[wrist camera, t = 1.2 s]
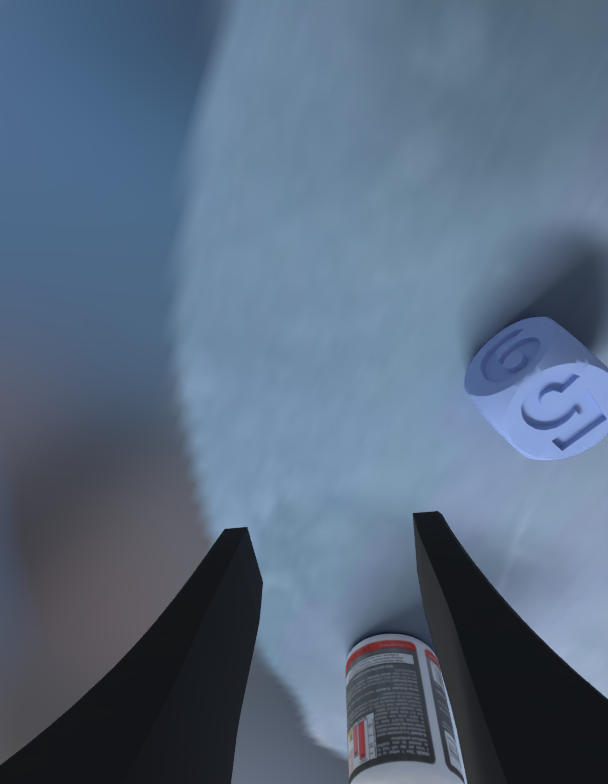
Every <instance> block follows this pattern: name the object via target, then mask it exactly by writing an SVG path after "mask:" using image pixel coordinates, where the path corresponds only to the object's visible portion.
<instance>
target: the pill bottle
mask: <svg viewBox="0 0 608 784" xmlns="http://www.w3.org/2000/svg"><path fill="white" fill-rule="evenodd" d="M346 703H347V737H348V774H349V784H465V783H464V778H463V773H462V769H461V764H460V760H459V755H458V750H457V746H456V741H455V736H454V731H453V727H452V722H451V717H450V713H449V708H448V704H447V699H446V694H445V690H444V685H443V680H442V676H441V671H440V666H439V663H438V659H437V657H436V655H435V654H434V652H433V651H432V650H431V648H430V647H429V646H427V645H426V644H425V643H423V642H422V641H420V640H418V639H416V638H414V637H411V636H407V635H402V634H381V635H376V636H372V637H369V638H367V639H365V640H363V641H361V642H360V643H358V644H357V645H356V646H355V647H354V648H353V649H352V650H351V652H350V653H349V655H348V657H347V661H346Z"/></svg>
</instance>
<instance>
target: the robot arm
mask: <svg viewBox="0 0 608 784" xmlns="http://www.w3.org/2000/svg"><path fill="white" fill-rule="evenodd" d="M413 521H414V534H415V547H416V560H417V572H418V578H419V583H420V589H421V595H422V600H423V606H424V611H425V615H426V619H427V622H428V626H429V630H430V633H431V637H432V640H433V644H434V647H435V651H436V654H437V658H438V662H439V665H440V669H441V672H442V676H443V679H444V683H445V686H446V690H447V693H448V697H449V701H450V704H451V708H452V712H453V716H454V720H455V724H456V728H457V733H458V738H459V743H460V748H461V753H462V758H463V763H464V768H465V773H466V778H467V784H608V699H607V698H606V697H605V696H603V695H602V694H601V693H600V692H599V691H598V690H596V689H595V688H594V687H593V686H592V685H591V684H589V683H588V682H587V681H586V680H585V679H584V678H582V677H581V676H580V675H579V674H578V673H577V672H576V671H574V670H573V669H572V668H571V667H570V666H569V665H568V664H567V663H566V662H565V661H564V660H563V659H562V658H561V657H559V656H558V655H557V654H556V653H555V652H554V651H553V650H552V649H551V648H550V647H549V646H548V645H547V644H546V643H545V642H544V641H543V640H542V639H541V638H540V637H539V636H538V635H537V634H536V633H535V632H534V631H533V630H532V629H531V628H530V627H529V626H528V625H527V624H526V623H525V622H524V621H523V620H522V619H521V617H520V616H519V615H518V614H517V613H516V612H515V611H514V610H513V609H512V608H511V606H510V605H509V604H508V603H507V602H506V601H505V600H504V599H503V597H502V596H501V595H500V594H499V593H498V592H497V590H496V589H495V588H494V587H493V586H492V584H491V583H490V582H489V581H488V580H487V578H486V577H485V576H484V574H483V573H482V572H481V571H480V569H479V568H478V567H477V566H476V564H475V563H474V562H473V560H472V559H471V558H470V556H469V555H468V554H467V552H466V551H465V550H464V548H463V547H462V545H461V544H460V542H459V541H458V540H457V538H456V537H455V535H454V534H453V532H452V531H451V529H450V527H449V526H448V524H447V522H446V521H445V519H444V517H443V515H442V514H441V513H439V512H438V511H434V512H422V513H413ZM262 587H263V581H262V577H261V574H260V570H259V567H258V563H257V560H256V556H255V553H254V549H253V546H252V542H251V539H250V535H249V532H248V528H247V527H243V528H231V529H225V530H224V531H223V532H222V533H221V535H220V536H219V538H218V539H217V540H216V542H215V543H214V545H213V546H212V548H211V549H210V550H209V552H208V553H207V555H206V556H205V558H204V559H203V560H202V562H201V563H200V565H199V566H198V567H197V569H196V570H195V571H194V573H193V574H192V576H191V577H190V578H189V580H188V581H187V582H186V584H185V585H184V586H183V588H182V589H181V590H180V591H179V593H178V594H177V596H176V597H175V598H174V599H173V601H172V602H171V603H170V604H169V605H168V607H167V608H166V609H165V610H164V612H163V613H162V614H161V615H160V616H159V618H158V619H157V620H156V622H155V623H154V624H153V625H152V626H151V627H150V629H149V630H148V631H147V632H146V633H145V634H144V635H143V637H142V638H141V639H140V640H139V641H138V642H137V643H136V644H135V646H134V647H133V648H132V649H131V650H130V651H129V652H128V653H127V654H126V655H125V656H124V657H123V658H122V659H121V660H120V661H119V662H118V663H117V664H116V665H115V667H114V668H113V669H112V670H110V672H108V673H107V674H106V675H105V676H104V677H103V678H102V679H101V680H100V681H99V682H98V683H97V684H96V685H95V686H94V687H93V688H91V690H89V691H88V692H87V693H86V694H85V695H84V696H83V697H82V698H81V699H80V700H79V701H78V702H77V703H75V704H74V705H73V706H72V707H71V708H70V709H69V710H68V711H67V712H65V713H64V714H63V715H62V716H61V717H59V718H58V719H57V720H56V721H55V722H54V723H52V724H51V725H50V726H49V727H48V728H46V729H45V730H44V731H43V732H42V733H40V734H39V735H38V736H37V737H36V738H34V739H33V740H32V741H31V742H30V743H28V744H27V745H26V746H25V747H23V748H22V749H21V750H19V751H18V752H17V753H16V754H14V755H13V756H12V757H10V758H9V759H8V760H7V761H5V762H4V763H3V764H1V765H0V784H231V778H232V770H233V761H234V752H235V745H236V737H237V730H238V724H239V719H240V713H241V708H242V703H243V698H244V694H245V689H246V684H247V679H248V674H249V670H250V665H251V660H252V655H253V651H254V646H255V641H256V636H257V631H258V626H259V620H260V610H261V599H262Z"/></svg>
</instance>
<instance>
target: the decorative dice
mask: <svg viewBox="0 0 608 784" xmlns="http://www.w3.org/2000/svg"><path fill="white" fill-rule="evenodd" d="M464 390H465V392H466V394H467V395H468V397H469V398H470V400H471V401H472V402H473V404H474V405H475V406H476V407H477V409H478V410H479V411H480V412H481V413H482V415H483V416H484V417H485V418H486V419H487V420H488V421H489V423H490V424H491V425H492V426H493V427H494V428H495V429H496V430H497V431H498V432H499V433H500V434H501V435H502V436H503V437H504V438H505V439H506V440H507V441H508V442H509V443H510V444H511V445H512V446H514V447H515V448H516V449H517V450H518V451H519V452H521V453H522V454H523V455H525V456H526V457H528V458H530V459H536V460H554V459H561V458H565V457H569V456H573V455H576V454H578V453H581V452H583V451H585V450H587V449H589V448H591V447H592V446H594V445H595V444H597V443H598V442H599V441H600V440H602V439H603V438H604V437H605V436H606V435H607V434H608V368H607V367H606V366H605V365H604V364H603V363H602V362H601V361H600V360H599V359H598V358H597V357H596V356H595V355H594V354H593V353H592V352H591V351H589V350H588V349H587V348H586V347H585V346H584V345H583V344H582V343H581V342H580V341H578V340H577V339H576V338H575V337H574V336H573V335H571V334H570V333H569V332H568V331H567V330H565V329H564V328H563V327H562V326H560V325H559V324H558V323H557V322H555V321H554V320H552V319H551V318H549V317H547V316H546V317H532V318H527V319H524V320H521V321H518V322H516V323H514V324H512V325H510V326H508V327H506V328H505V329H503V330H502V331H500V332H499V333H497V334H496V335H495V336H494V337H492V338H491V339H490V340H489V341H488V342H487V343H486V344H485V345H484V346H483V347H482V348H481V349H480V350H479V351H478V353H477V354H476V355H475V357H474V358H473V360H472V361H471V363H470V365H469V367H468V369H467V372H466V375H465V381H464Z"/></svg>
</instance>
